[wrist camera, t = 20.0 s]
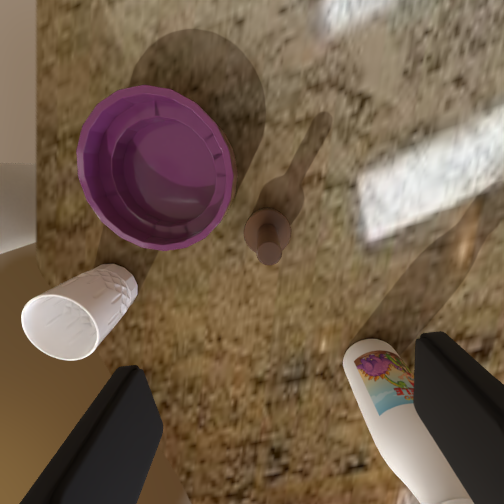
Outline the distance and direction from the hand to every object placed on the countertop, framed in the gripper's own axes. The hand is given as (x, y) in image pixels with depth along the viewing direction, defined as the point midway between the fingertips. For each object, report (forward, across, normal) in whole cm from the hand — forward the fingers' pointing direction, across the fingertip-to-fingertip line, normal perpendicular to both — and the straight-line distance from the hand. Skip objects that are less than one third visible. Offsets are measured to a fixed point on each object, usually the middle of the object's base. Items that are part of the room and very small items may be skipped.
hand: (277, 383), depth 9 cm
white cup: (+24, +22, +5) cm, 33 cm away
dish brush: (+24, 0, 0) cm, 24 cm away
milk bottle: (+24, -12, +22) cm, 35 cm away
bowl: (+24, +10, -8) cm, 27 cm away
